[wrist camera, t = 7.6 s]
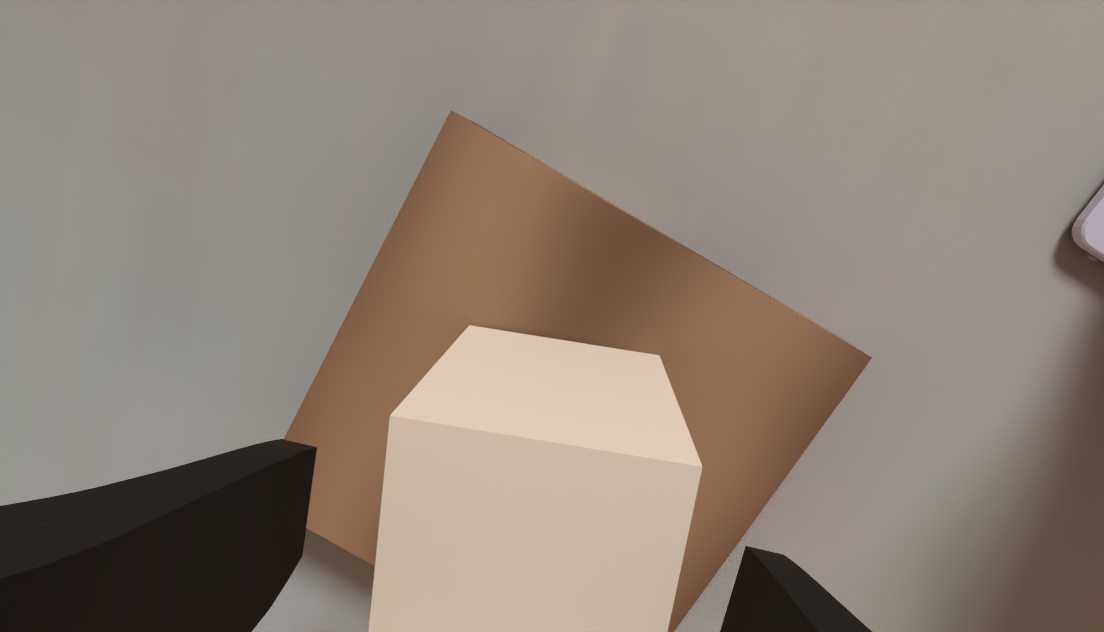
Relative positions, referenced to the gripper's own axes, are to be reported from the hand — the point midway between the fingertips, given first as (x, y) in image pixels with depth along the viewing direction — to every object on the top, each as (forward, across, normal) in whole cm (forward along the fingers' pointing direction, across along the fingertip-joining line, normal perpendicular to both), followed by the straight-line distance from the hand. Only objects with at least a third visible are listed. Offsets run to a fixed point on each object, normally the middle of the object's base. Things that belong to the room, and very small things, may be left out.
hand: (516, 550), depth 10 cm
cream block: (+5, 0, 0) cm, 5 cm away
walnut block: (+8, 0, 0) cm, 8 cm away
